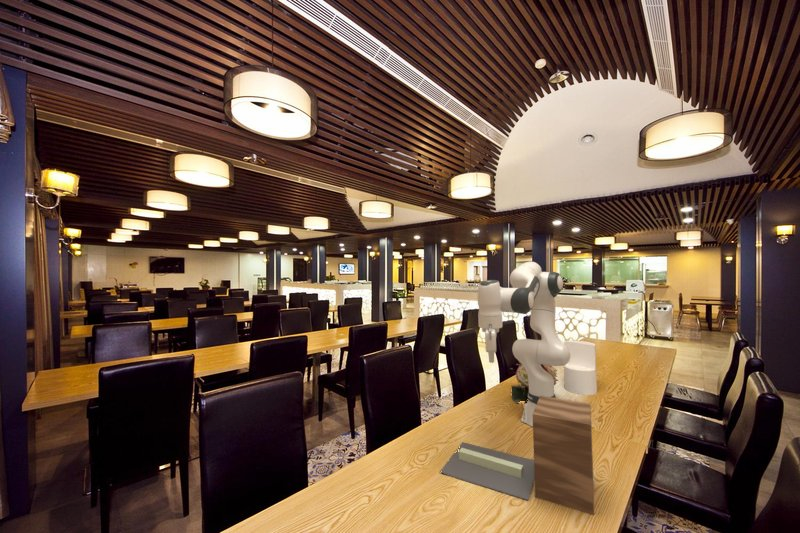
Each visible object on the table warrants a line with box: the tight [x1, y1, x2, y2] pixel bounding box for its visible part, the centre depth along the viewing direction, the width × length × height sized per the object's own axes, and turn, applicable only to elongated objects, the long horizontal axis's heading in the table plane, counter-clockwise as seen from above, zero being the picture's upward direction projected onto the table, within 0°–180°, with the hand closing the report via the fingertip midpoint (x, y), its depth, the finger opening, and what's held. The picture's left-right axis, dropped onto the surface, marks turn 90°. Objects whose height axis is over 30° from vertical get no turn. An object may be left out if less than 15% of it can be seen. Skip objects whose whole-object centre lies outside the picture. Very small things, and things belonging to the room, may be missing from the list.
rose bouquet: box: [509, 359, 559, 404], centre depth 186 cm, size 26×29×30 cm
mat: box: [439, 441, 535, 502], centre depth 119 cm, size 24×30×1 cm
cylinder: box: [563, 340, 598, 396], centre depth 197 cm, size 17×17×28 cm
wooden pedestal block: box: [532, 396, 595, 516], centre depth 107 cm, size 18×16×26 cm
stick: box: [459, 448, 523, 478], centre depth 119 cm, size 3×23×3 cm, turn 57°
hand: (491, 358), depth 124 cm, fingers open, 8 cm apart
